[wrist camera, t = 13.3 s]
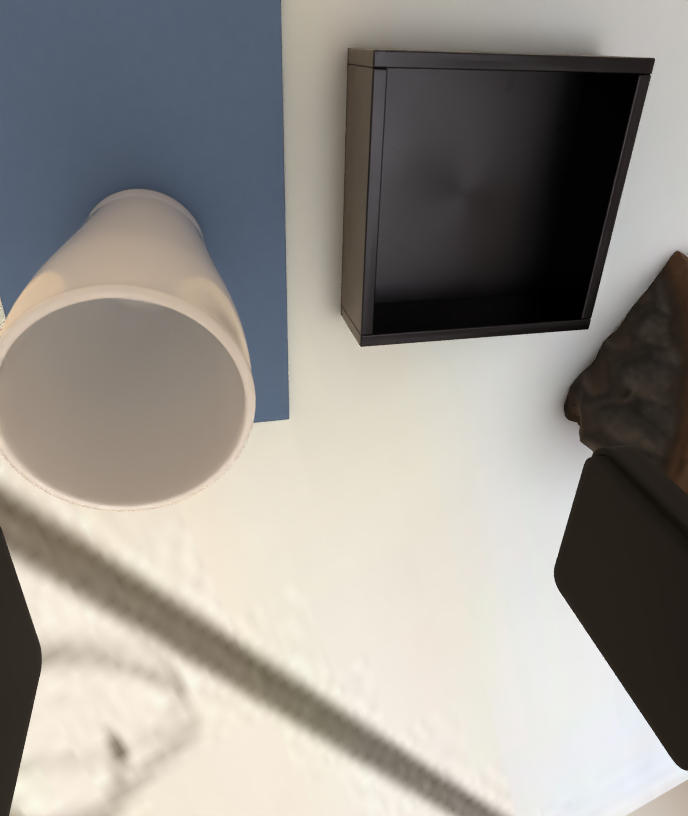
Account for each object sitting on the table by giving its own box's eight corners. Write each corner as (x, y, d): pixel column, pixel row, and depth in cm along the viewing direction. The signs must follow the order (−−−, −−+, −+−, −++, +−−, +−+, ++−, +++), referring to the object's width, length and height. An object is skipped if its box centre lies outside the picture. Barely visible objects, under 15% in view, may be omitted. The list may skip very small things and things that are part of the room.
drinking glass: (196, 333, 31) (213, 534, 18) (50, 290, 28) (-46, 491, 16) (241, 202, 28) (297, 333, 16) (85, 141, 26) (3, 241, 13)
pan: (346, 47, 27) (374, 49, 23) (596, 55, 29) (656, 58, 26) (339, 313, 33) (360, 347, 29) (546, 300, 36) (588, 329, 32)
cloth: (-84, -28, 22) (-87, -28, 22) (279, -9, 25) (280, -10, 25) (40, 441, 32) (39, 444, 32) (288, 416, 35) (289, 419, 35)
